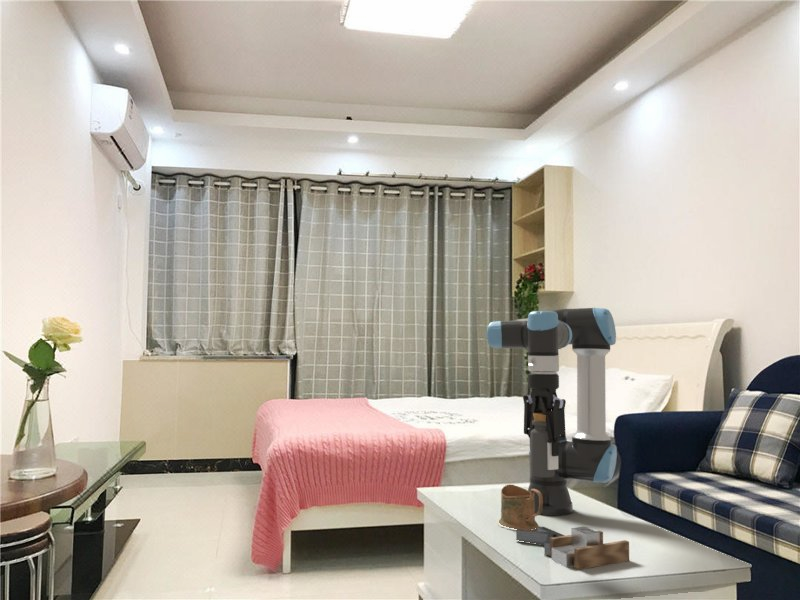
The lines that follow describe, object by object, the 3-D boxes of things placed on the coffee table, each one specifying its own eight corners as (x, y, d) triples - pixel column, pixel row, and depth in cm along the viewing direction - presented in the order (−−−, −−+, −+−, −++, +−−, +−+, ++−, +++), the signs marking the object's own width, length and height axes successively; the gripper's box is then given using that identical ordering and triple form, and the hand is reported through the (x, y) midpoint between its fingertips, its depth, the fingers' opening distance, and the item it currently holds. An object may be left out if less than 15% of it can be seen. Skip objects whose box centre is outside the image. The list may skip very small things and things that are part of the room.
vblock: (541, 537, 168) (541, 525, 168) (575, 552, 156) (575, 539, 156) (514, 540, 164) (514, 529, 165) (547, 556, 152) (546, 544, 152)
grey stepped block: (584, 555, 154) (584, 526, 154) (599, 562, 149) (599, 532, 149) (551, 560, 150) (551, 530, 150) (566, 567, 145) (566, 536, 145)
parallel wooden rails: (599, 548, 159) (599, 530, 159) (629, 560, 150) (629, 541, 150) (550, 556, 152) (550, 537, 153) (577, 569, 143) (577, 549, 144)
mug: (523, 538, 166) (523, 493, 167) (490, 521, 183) (490, 480, 184) (559, 534, 171) (558, 490, 172) (523, 518, 187) (523, 478, 188)
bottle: (537, 478, 148) (538, 415, 150) (525, 473, 154) (526, 412, 155) (559, 477, 150) (559, 414, 151) (546, 472, 156) (546, 412, 157)
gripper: (508, 371, 161) (509, 461, 159) (556, 375, 144) (557, 475, 142) (531, 370, 164) (532, 459, 163) (581, 374, 147) (582, 472, 146)
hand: (544, 466), depth 153 cm, fingers closed on bottle, 6 cm apart
